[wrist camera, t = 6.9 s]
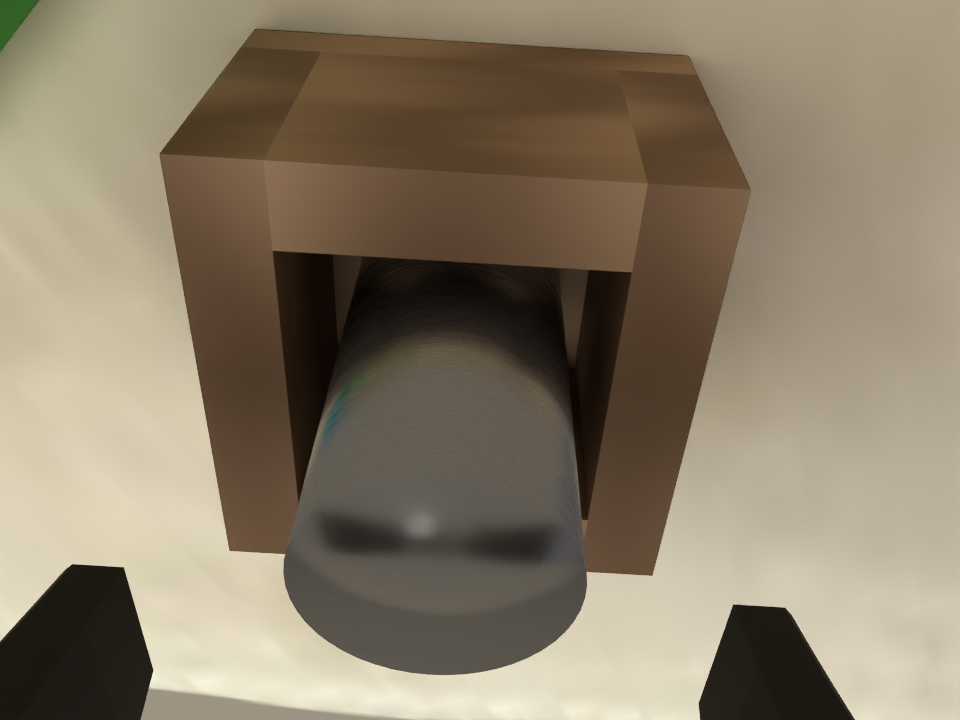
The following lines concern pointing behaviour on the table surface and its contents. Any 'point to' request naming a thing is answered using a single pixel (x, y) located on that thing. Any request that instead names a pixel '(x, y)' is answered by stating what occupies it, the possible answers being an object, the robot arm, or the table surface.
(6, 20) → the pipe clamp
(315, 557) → the peg
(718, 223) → the socket
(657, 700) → the table surface
